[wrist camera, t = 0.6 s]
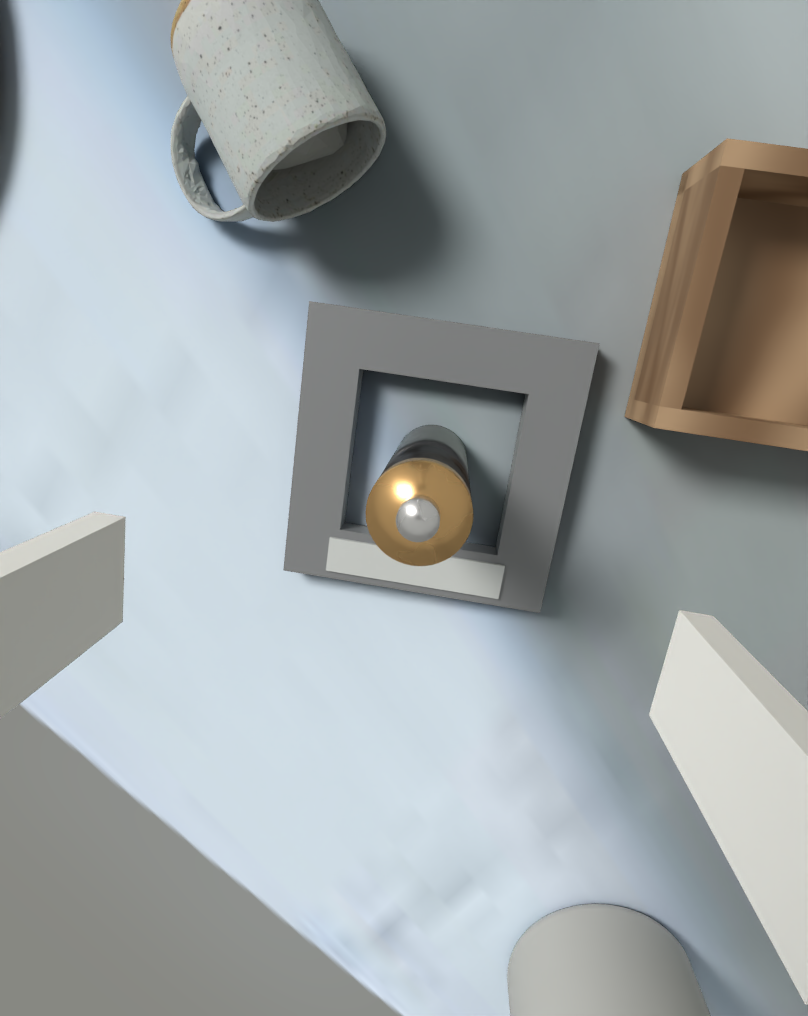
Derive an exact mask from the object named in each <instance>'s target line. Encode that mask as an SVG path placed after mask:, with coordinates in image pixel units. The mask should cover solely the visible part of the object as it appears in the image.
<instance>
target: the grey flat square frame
mask: <svg viewBox="0 0 808 1016" xmlns="http://www.w3.org/2000/svg"><path fill="white" fill-rule="evenodd" d="M598 348H599V343H592V342H585V341H579V340H572V339H565V338H558V337H551V336H544V335H537V334H531V333H524V332H517V331H510V330H503V329H496V328H489V327H482V326H476V325H469V324H462V323H455V322H448V321H441V320H434V319H428V318H421V317H414V316H407V315H400V314H393V313H386V312H380V311H373V310H366V309H359V308H352V307H345V306H338V305H332V304H325V303H318V302H311V301H309V310H308V320H307V331H306V341H305V352H304V362H303V373H302V383H301V394H300V404H299V414H298V425H297V435H296V446H295V456H294V467H293V477H292V488H291V498H290V508H289V519H288V529H287V540H286V550H285V561H284V570H285V571H291V572H297V573H303V574H309V575H315V576H321V577H327V578H333V579H339V580H345V581H351V582H357V583H363V584H369V585H375V586H381V587H387V588H393V589H399V590H405V591H411V592H417V593H423V594H429V595H435V596H441V597H447V598H453V599H459V600H465V601H471V602H477V603H483V604H489V605H495V606H501V607H507V608H513V609H519V610H525V611H531V612H537V613H540V611H541V606H542V602H543V597H544V593H545V588H546V584H547V579H548V575H549V570H550V565H551V561H552V556H553V552H554V547H555V543H556V538H557V534H558V529H559V525H560V520H561V516H562V511H563V507H564V502H565V498H566V493H567V488H568V484H569V479H570V475H571V470H572V466H573V461H574V457H575V452H576V448H577V443H578V439H579V434H580V430H581V425H582V421H583V416H584V412H585V407H586V402H587V398H588V393H589V389H590V384H591V380H592V375H593V371H594V366H595V362H596V357H597V353H598ZM363 369H364V370H371V371H378V372H384V373H391V374H398V375H404V376H411V377H418V378H424V379H431V380H438V381H444V382H451V383H457V384H464V385H471V386H477V387H484V388H491V389H497V390H504V391H511V392H517V393H524V394H525V398H524V403H523V409H522V414H521V419H520V424H519V429H518V434H517V440H516V445H515V450H514V455H513V460H512V465H511V471H510V476H509V481H508V486H507V491H506V497H505V502H504V507H503V512H502V517H501V522H500V528H499V533H498V538H497V543H496V547H492V546H486V545H480V544H474V543H467V542H465V543H464V545H463V546H462V547H461V548H460V549H459V550H458V551H457V552H456V553H455V554H454V555H453V556H451V557H450V558H448V559H446V560H445V561H442V562H440V563H437V564H434V565H429V566H411V565H407V564H403V563H400V562H398V561H396V560H394V559H392V558H390V557H389V556H387V555H386V554H385V553H384V552H383V551H381V549H380V548H379V547H378V546H377V545H376V543H375V542H374V541H373V539H372V537H371V535H370V533H369V530H368V527H367V526H363V525H357V524H350V523H345V516H346V508H347V499H348V491H349V483H350V475H351V467H352V458H353V450H354V442H355V434H356V426H357V417H358V409H359V401H360V393H361V384H362V376H363Z"/></svg>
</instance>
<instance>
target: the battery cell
mask: <svg viewBox="0 0 808 1016" xmlns="http://www.w3.org/2000/svg"><path fill="white" fill-rule="evenodd" d="M366 522H367V527H368V530H369V533H370V535H371V537H372V539H373V541H374V542H375V543H376V545H377V546H378V547H379V548H380V549H381V551H383V552H384V553H385V554H386V555H387V556H389V557H390V558H392V559H394V560H396V561H398V562H400V563H403V564H407V565H411V566H429V565H434V564H437V563H440V562H442V561H445V560H446V559H448V558H450V557H451V556H453V555H454V554H455V553H456V552H457V551H458V550H459V549H460V548H461V547H462V546H463V545H464V543H465V542H466V540H467V538H468V536H469V534H470V531H471V528H472V523H473V506H472V499H471V492H470V483H469V473H468V464H467V455H466V450H465V447H464V445H463V443H462V441H461V440H460V438H459V437H458V436H457V435H456V434H455V433H454V432H452V431H451V430H449V429H447V428H445V427H442V426H438V425H425V426H421V427H418V428H416V429H414V430H412V431H411V432H410V433H408V434H407V435H406V436H405V438H404V439H403V440H402V442H401V443H400V445H399V447H398V448H397V450H396V451H395V453H394V455H393V456H392V458H391V460H390V461H389V463H388V465H387V466H386V468H385V469H384V471H383V473H382V474H381V476H380V477H379V479H378V480H377V482H376V483H375V485H374V486H373V488H372V490H371V492H370V494H369V497H368V500H367V504H366Z"/></svg>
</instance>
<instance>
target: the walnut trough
mask: <svg viewBox="0 0 808 1016" xmlns="http://www.w3.org/2000/svg"><path fill="white" fill-rule="evenodd" d="M625 417H626V418H629V419H632V420H634V421H637V422H640V423H642V424H645V425H648V426H650V427H653V428H658V429H665V430H671V431H678V432H684V433H691V434H698V435H704V436H711V437H718V438H724V439H731V440H737V441H744V442H751V443H757V444H764V445H770V446H777V447H784V448H790V449H797V450H803V451H808V149H805V148H797V147H789V146H781V145H774V144H766V143H758V142H750V141H743V140H735V139H726V140H725V141H723V142H722V143H721V144H720V145H718V146H717V147H716V148H715V149H713V150H712V151H711V152H710V153H708V154H707V155H706V156H704V157H703V158H702V159H701V160H699V161H698V162H697V163H696V164H694V165H693V166H692V167H691V168H689V169H688V170H687V171H686V172H684V173H683V174H682V178H681V182H680V187H679V191H678V195H677V199H676V203H675V208H674V212H673V216H672V220H671V224H670V228H669V233H668V237H667V241H666V245H665V249H664V254H663V258H662V262H661V266H660V270H659V275H658V279H657V283H656V287H655V291H654V295H653V300H652V304H651V308H650V312H649V316H648V321H647V325H646V329H645V333H644V337H643V342H642V346H641V350H640V354H639V358H638V362H637V367H636V371H635V375H634V379H633V383H632V388H631V392H630V396H629V400H628V404H627V408H626V413H625Z"/></svg>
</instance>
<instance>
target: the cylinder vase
mask: <svg viewBox="0 0 808 1016" xmlns="http://www.w3.org/2000/svg"><path fill="white" fill-rule="evenodd" d="M507 981H508V993H509V1006H510V1016H711V1015H710V1013H709V1010H708V1008H707V1005H706V1002H705V1000H704V997H703V995H702V992H701V989H700V987H699V984H698V982H697V979H696V976H695V974H694V971H693V969H692V966H691V963H690V961H689V959H688V956H687V954H686V953H685V951H684V949H683V948H682V946H681V945H680V943H679V942H678V941H677V939H676V938H675V937H674V936H673V935H672V934H671V933H670V932H669V931H668V930H667V929H666V928H664V927H663V926H662V925H660V924H659V923H658V922H656V921H655V920H653V919H651V918H650V917H648V916H646V915H644V914H641V913H639V912H637V911H634V910H631V909H628V908H624V907H620V906H615V905H608V904H583V905H576V906H571V907H567V908H564V909H560V910H558V911H555V912H553V913H550V914H548V915H546V916H545V917H543V918H541V919H540V920H538V921H537V922H535V923H534V924H533V925H532V926H531V927H529V928H528V929H527V930H526V931H525V932H524V934H523V935H522V936H521V937H520V939H519V940H518V942H517V943H516V945H515V947H514V949H513V951H512V954H511V957H510V960H509V964H508V972H507Z"/></svg>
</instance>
